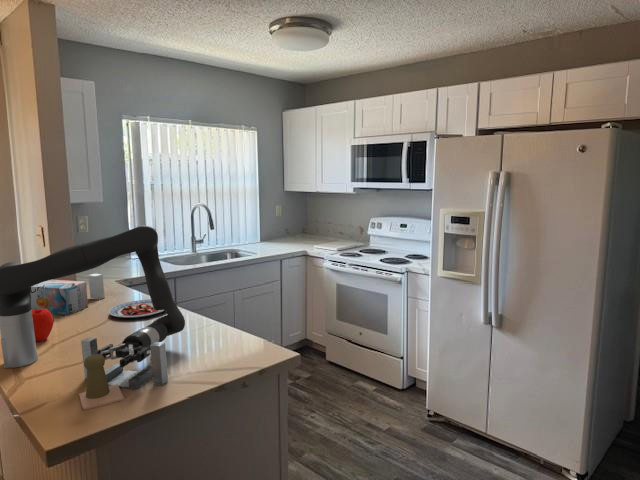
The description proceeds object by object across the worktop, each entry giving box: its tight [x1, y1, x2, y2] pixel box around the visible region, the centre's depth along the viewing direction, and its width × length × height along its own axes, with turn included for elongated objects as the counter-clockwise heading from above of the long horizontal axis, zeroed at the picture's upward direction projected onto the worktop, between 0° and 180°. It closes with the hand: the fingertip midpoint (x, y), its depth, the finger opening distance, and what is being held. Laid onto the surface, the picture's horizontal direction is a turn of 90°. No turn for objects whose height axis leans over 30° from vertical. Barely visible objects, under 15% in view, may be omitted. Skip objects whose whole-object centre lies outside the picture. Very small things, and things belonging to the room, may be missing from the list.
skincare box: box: [87, 273, 105, 301], centre depth 230 cm, size 6×4×12 cm
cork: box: [83, 354, 110, 399], centre depth 128 cm, size 6×6×11 cm
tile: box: [78, 384, 125, 411], centre depth 128 cm, size 10×10×1 cm
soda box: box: [30, 279, 89, 316], centre depth 214 cm, size 41×14×13 cm, turn 76°
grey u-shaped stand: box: [80, 336, 169, 390], centre depth 138 cm, size 10×26×12 cm, turn 78°
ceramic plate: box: [108, 298, 165, 319], centre depth 206 cm, size 26×26×3 cm
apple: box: [32, 309, 54, 342], centre depth 173 cm, size 10×10×12 cm
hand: (107, 362), depth 130 cm, fingers open, 8 cm apart
